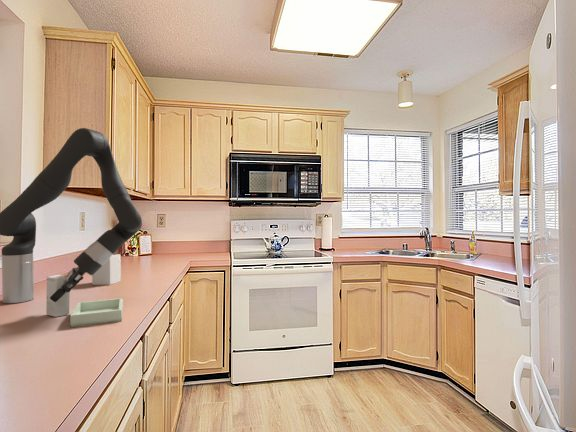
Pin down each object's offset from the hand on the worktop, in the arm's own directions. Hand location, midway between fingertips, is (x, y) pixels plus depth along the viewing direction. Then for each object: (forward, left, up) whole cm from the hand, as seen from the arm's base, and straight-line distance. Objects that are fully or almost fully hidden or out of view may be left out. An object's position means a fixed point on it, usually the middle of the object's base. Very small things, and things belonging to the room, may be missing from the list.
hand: (52, 297), depth 110 cm
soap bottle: (-50, +12, -6) cm, 52 cm away
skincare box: (0, +2, -6) cm, 6 cm away
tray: (+8, +13, -6) cm, 17 cm away
